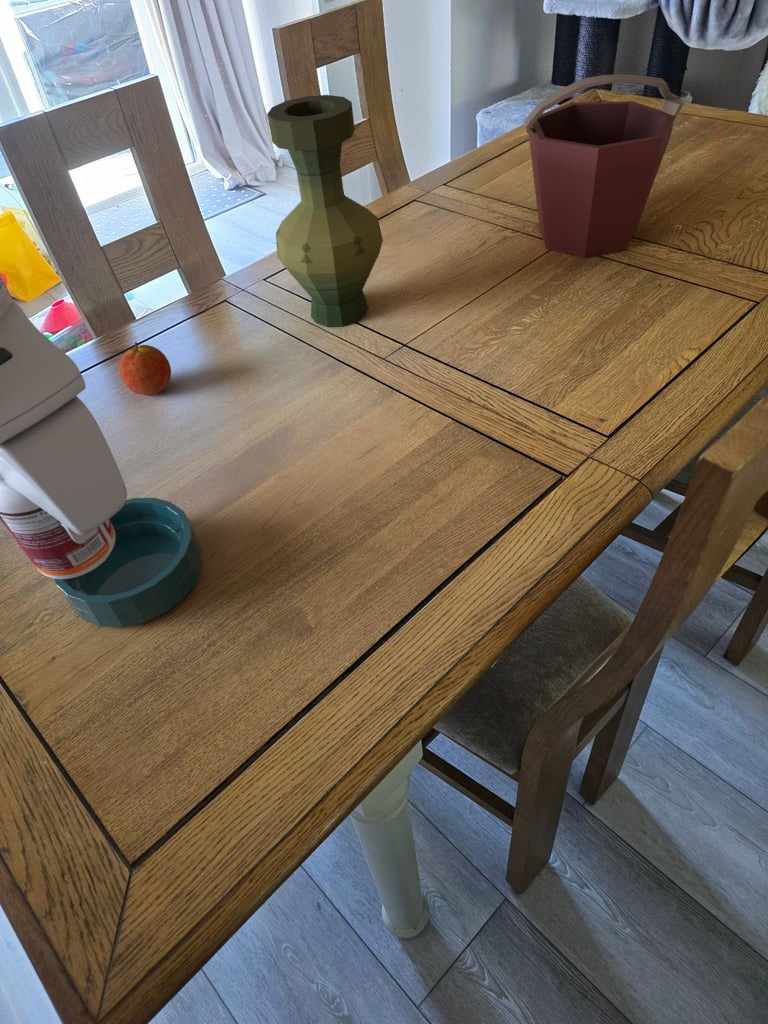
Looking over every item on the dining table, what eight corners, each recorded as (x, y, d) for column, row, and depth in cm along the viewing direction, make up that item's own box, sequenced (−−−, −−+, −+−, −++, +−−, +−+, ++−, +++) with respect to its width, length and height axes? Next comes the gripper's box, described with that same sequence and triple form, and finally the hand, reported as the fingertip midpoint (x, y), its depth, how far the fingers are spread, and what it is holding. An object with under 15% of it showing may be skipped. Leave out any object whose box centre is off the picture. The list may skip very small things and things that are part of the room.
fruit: (165, 406, 99) (146, 358, 94) (121, 403, 101) (100, 356, 95) (184, 378, 104) (167, 330, 98) (142, 375, 105) (123, 329, 100)
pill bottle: (52, 523, 55) (-18, 414, 47) (127, 518, 55) (68, 408, 47) (23, 585, 51) (-60, 476, 43) (104, 581, 51) (35, 470, 43)
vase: (327, 350, 106) (291, 138, 84) (271, 314, 115) (226, 114, 94) (409, 309, 112) (395, 102, 91) (350, 277, 121) (324, 82, 100)
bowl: (152, 647, 70) (135, 618, 67) (43, 609, 75) (21, 580, 71) (228, 544, 79) (216, 513, 76) (126, 516, 84) (111, 486, 80)
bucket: (658, 211, 129) (688, 54, 111) (662, 268, 114) (698, 97, 96) (524, 210, 134) (532, 60, 116) (511, 264, 120) (519, 102, 102)
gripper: (-179, 327, 43) (-57, 485, 53) (-12, 439, 34) (100, 607, 44) (-83, 282, 47) (15, 439, 57) (95, 372, 37) (177, 543, 47)
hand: (54, 513), depth 50 cm, fingers closed on pill bottle, 6 cm apart
